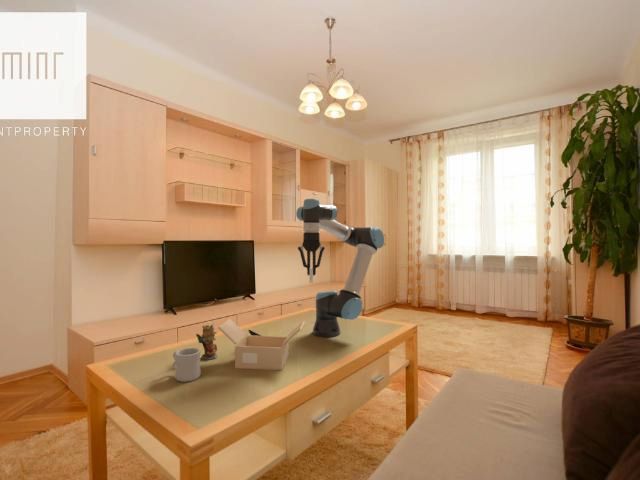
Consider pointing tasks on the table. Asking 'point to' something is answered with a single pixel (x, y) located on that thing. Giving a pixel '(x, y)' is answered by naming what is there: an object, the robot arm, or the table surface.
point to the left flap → (232, 331)
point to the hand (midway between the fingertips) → (311, 282)
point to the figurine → (208, 342)
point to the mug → (187, 364)
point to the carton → (261, 353)
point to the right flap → (293, 333)
